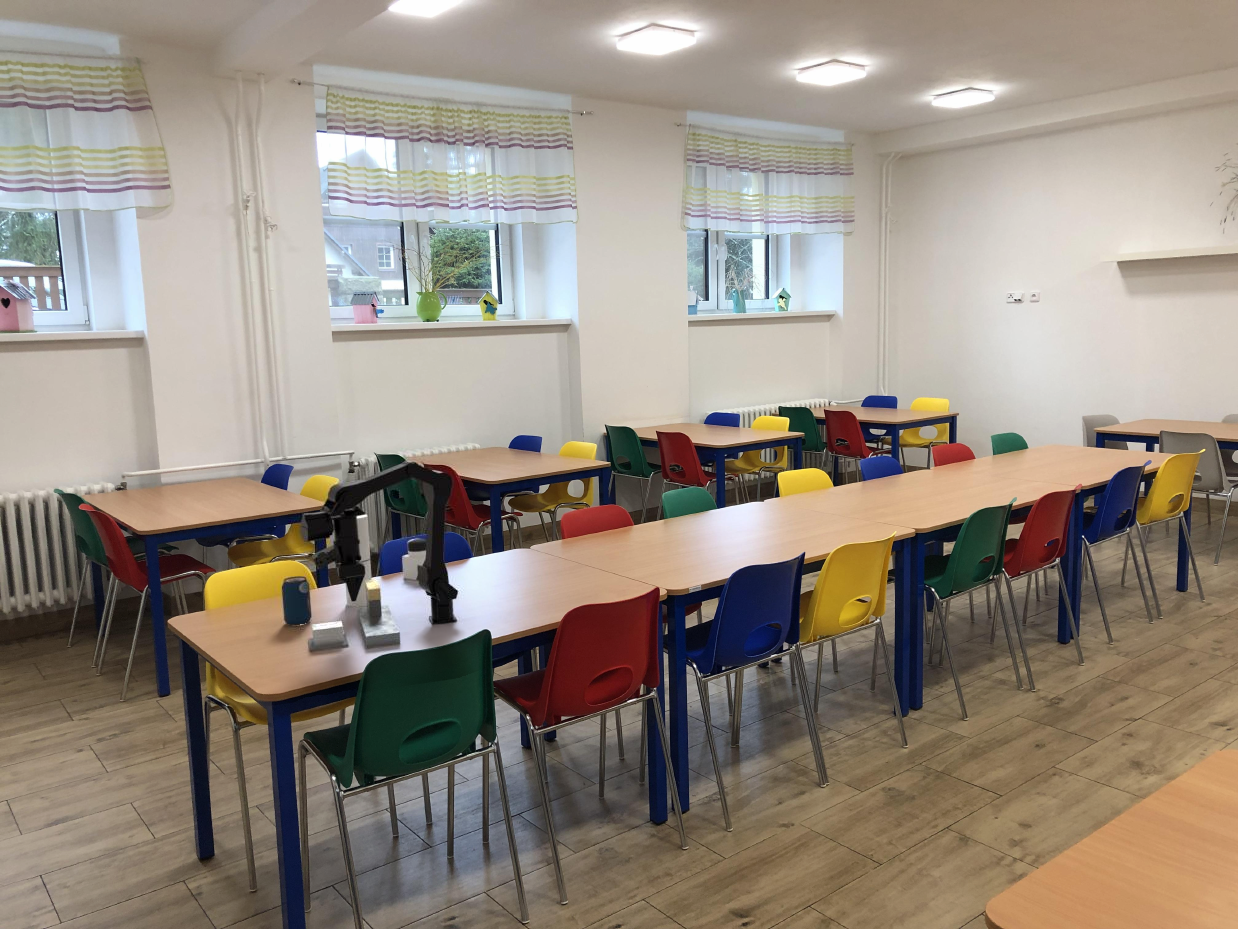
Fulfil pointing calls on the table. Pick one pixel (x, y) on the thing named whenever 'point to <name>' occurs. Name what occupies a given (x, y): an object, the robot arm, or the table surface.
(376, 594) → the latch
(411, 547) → the medicine bottle
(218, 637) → the table surface
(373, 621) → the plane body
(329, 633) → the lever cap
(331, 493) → the robot arm
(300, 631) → the table surface
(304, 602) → the soda can
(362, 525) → the cylindrical container
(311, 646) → the mat
